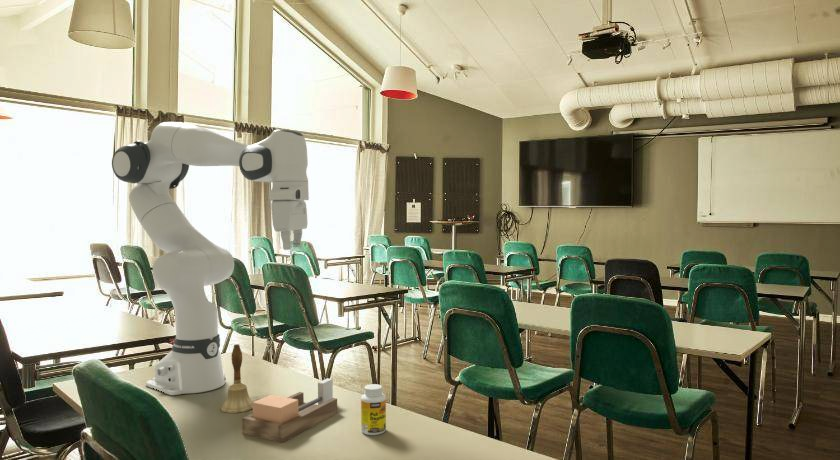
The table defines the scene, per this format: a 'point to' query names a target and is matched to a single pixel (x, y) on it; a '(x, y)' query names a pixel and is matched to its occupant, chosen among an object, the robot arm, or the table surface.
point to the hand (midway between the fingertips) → (292, 248)
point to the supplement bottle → (373, 410)
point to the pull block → (289, 404)
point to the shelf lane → (290, 421)
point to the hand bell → (237, 388)
